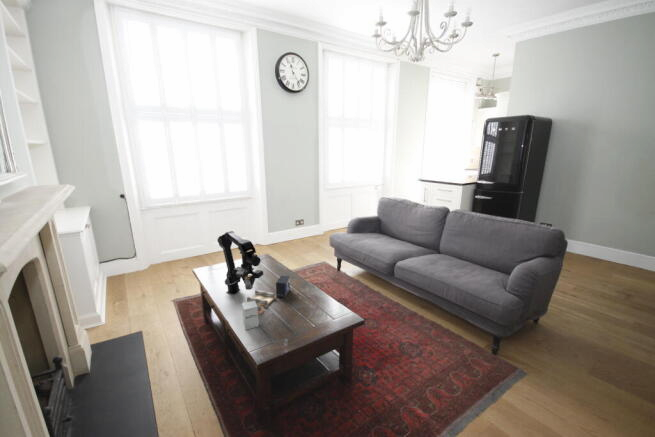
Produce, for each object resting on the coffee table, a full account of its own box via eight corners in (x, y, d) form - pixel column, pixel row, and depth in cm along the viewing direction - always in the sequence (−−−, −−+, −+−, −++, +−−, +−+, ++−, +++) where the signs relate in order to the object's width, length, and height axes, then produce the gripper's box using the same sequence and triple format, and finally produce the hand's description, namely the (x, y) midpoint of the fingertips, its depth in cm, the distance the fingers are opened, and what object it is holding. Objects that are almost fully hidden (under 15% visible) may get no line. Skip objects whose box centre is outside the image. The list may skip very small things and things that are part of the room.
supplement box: (245, 330, 161) (243, 309, 158) (243, 322, 168) (241, 302, 165) (259, 327, 164) (257, 306, 161) (256, 319, 171) (255, 300, 167)
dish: (247, 313, 176) (247, 308, 175) (254, 306, 184) (254, 301, 183) (259, 316, 174) (258, 310, 173) (266, 309, 181) (266, 303, 180)
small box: (285, 297, 194) (284, 283, 191) (276, 296, 195) (275, 282, 192) (290, 290, 204) (290, 275, 201) (281, 289, 205) (280, 275, 202)
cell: (244, 289, 184) (243, 276, 182) (248, 285, 188) (247, 273, 186) (250, 290, 183) (249, 277, 181) (254, 286, 187) (253, 274, 185)
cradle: (246, 303, 187) (246, 298, 186) (256, 294, 198) (256, 289, 197) (266, 307, 183) (265, 302, 182) (275, 297, 194) (275, 292, 193)
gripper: (225, 264, 177) (228, 288, 181) (252, 269, 171) (254, 293, 175) (237, 257, 187) (239, 280, 191) (263, 261, 181) (264, 285, 185)
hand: (249, 284), depth 185 cm, fingers closed on cell, 4 cm apart
